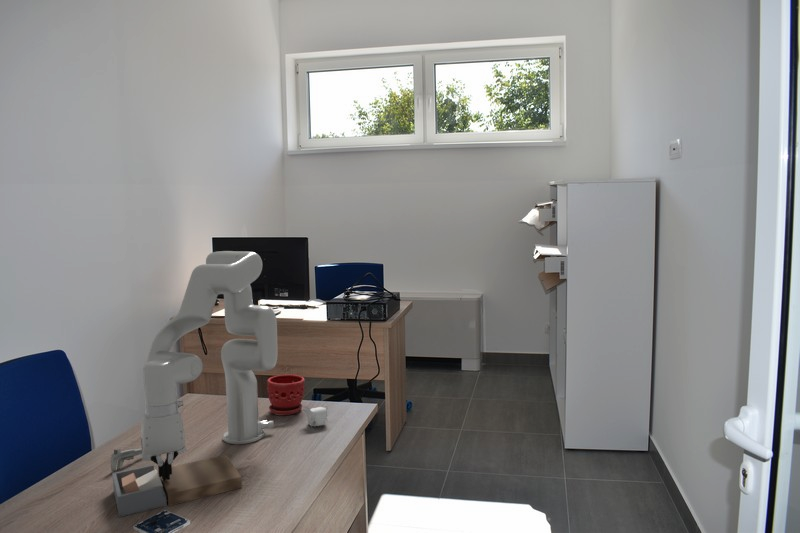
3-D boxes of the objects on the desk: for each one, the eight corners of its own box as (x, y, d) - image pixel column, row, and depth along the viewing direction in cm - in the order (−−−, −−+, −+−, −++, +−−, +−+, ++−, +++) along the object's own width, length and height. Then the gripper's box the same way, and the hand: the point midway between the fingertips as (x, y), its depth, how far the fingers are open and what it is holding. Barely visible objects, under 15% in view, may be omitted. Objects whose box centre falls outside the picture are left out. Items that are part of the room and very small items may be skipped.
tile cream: (160, 478, 154) (156, 468, 154) (163, 486, 150) (158, 476, 149) (140, 488, 152) (136, 478, 151) (142, 497, 148) (138, 486, 147)
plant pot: (295, 419, 204) (294, 385, 203) (261, 415, 208) (260, 382, 207) (311, 406, 217) (310, 374, 216) (279, 403, 221) (278, 372, 220)
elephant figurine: (312, 432, 192) (311, 410, 192) (302, 423, 201) (301, 402, 200) (334, 427, 196) (333, 406, 195) (323, 418, 204) (322, 398, 204)
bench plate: (226, 465, 168) (225, 454, 168) (241, 487, 155) (241, 476, 154) (158, 480, 159) (158, 469, 159) (168, 505, 146) (168, 494, 145)
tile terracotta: (133, 472, 151) (121, 478, 149) (135, 480, 146) (122, 486, 145) (141, 489, 152) (129, 495, 151) (142, 497, 147) (130, 503, 146)
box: (157, 481, 159) (156, 463, 158) (166, 505, 146) (165, 485, 145) (113, 491, 153) (112, 473, 153) (119, 517, 141) (117, 497, 140)
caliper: (114, 474, 164) (112, 451, 164) (111, 473, 165) (109, 451, 164) (169, 446, 183) (168, 426, 183) (167, 445, 184) (166, 425, 183)
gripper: (189, 399, 158) (192, 466, 159) (127, 410, 150) (132, 479, 152) (195, 407, 151) (198, 476, 153) (131, 419, 144) (135, 491, 145)
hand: (165, 478), depth 152 cm, fingers closed
